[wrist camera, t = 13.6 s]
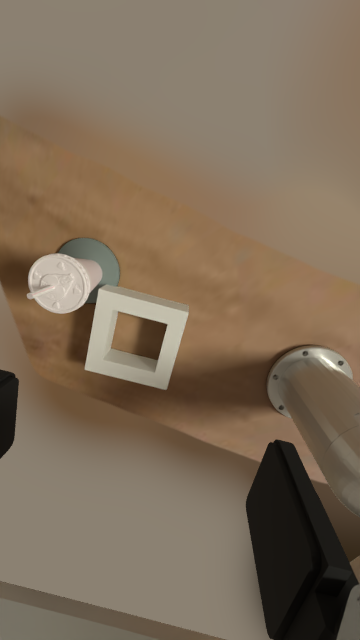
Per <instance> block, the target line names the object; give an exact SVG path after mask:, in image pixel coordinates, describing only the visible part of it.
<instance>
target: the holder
mask: <svg viewBox="0 0 360 640" xmlns="http://www.w3.org/2000/svg"><path fill="white" fill-rule="evenodd" d="M118 311H120V312H124V313H128V314H131V315H135V316H139V317H143V318H147V319H151V320H154V321H158V322H162V323H166V324H168V325H167V329H166V332H165V336H164V340H163V344H162V347H161V351H160V355H159V359H158V360H154V359H151V358H147V357H143V356H139V355H135V354H131V353H127V352H123V351H119V350H115V349H111V345H112V340H113V335H114V330H115V325H116V320H117V315H118ZM188 313H189V305H186V304H182V303H179V302H175V301H171V300H167V299H164V298H160V297H156V296H152V295H149V294H145V293H141V292H137V291H134V290H130V289H126V288H122V287H119V286H117V287H115V286H111V285H107V284H106V285H104V286H103V287H101V288H99V291H98V296H97V302H96V308H95V313H94V319H93V325H92V330H91V336H90V342H89V347H88V353H87V359H86V364H85V370H88V371H92V372H96V373H100V374H104V375H108V376H112V377H116V378H120V379H124V380H128V381H132V382H136V383H140V384H144V385H148V386H152V387H156V388H160V389H164V390H167V387H168V383H169V380H170V376H171V373H172V369H173V366H174V362H175V359H176V355H177V352H178V348H179V345H180V341H181V338H182V334H183V331H184V327H185V324H186V320H187V317H188Z"/></svg>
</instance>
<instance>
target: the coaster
mask: <svg viewBox="0 0 360 640" xmlns="http://www.w3.org/2000/svg"><path fill="white" fill-rule="evenodd" d="M58 253H59V254H65V255H68V256H70V257H72V258H79V259H88V260H93V261H95V262H96V263H98V264H99V266H100V267H101V269H102V279H101V281H100V282H99V283H98V284H97V286H96V287H95V288H94V289H93V290H92V291H91V292H90V293H89V296H88V299H87V300H86V302H85V303H96V302H97V296H98V291H99V288H101V287H103V286H104V285H106V284H107V285H111V286H115V287H117V285H118V283H119V278H120V269H119V264H118V261H117V259H116V257H115V255H114V254H113V252H112V251H111V250H110V249H109V248H108V247H107V246H106V245H105V244H103V243H101V242H99V241H97V240H94V239H90V238H78V239H74V240H71V241H69V242H68V243H66V244H65V245H64V246H63V247H62V248H61V249H60V251H59V252H58Z"/></svg>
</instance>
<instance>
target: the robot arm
mask: <svg viewBox="0 0 360 640" xmlns="http://www.w3.org/2000/svg"><path fill="white" fill-rule="evenodd" d="M18 385H19V380H18V379H17V378H15V374H14V373H11V372H8V371H3V370H0V458H1V457H2V456H3V455H4V454H5V453H6V452H7V451H8V450H9V449H10V447H11V446H12V444H13V441H14V436H15V422H16V410H17V397H18ZM267 393H268V396H269V398H270V401H271V402H272V404H273V406H274V407H275V408H276V409H277V411H279V412H280V413H281V414H283V415H284V416H287V417H289V418H291V419H293V421H294V423H295V425H296V426H297V428H298V430H299V432H300V434H301V435H302V437H303V439H304V441H305V443H306V444H307V446H308V448H309V450H310V452H311V453H312V455H313V457H314V459H315V461H316V462H317V464H318V466H319V468H320V469H321V471H322V473H323V475H324V477H325V479H326V480H327V482H328V484H329V486H330V488H331V489H332V491H333V492H334V494H335V495H336V497H337V498H338V499H339V500H340V501H341V503H342V504H343V505H344V506H346V507H347V508H348V509H349V510H350V511H351V512H353V513H354V514H356V515H357V516H359V517H360V387H359V386H358V385H357V384H356V383H355V382H354V381H353V375H352V371H351V368H350V366H349V364H348V363H347V361H346V360H345V359H344V358H343V357H342V356H341V355H340V354H338V353H337V352H336V351H334V350H332V349H330V348H327V347H323V346H317V345H309V346H302V347H299V348H295V349H293V350H291V351H289V352H287V353H286V354H284V355H283V356H281V357H280V358H279V359H278V360H277V361H276V362H275V364H274V365H273V367H272V368H271V370H270V372H269V374H268V378H267ZM246 512H247V517H248V523H249V529H250V535H251V541H252V546H253V553H254V558H255V564H256V570H257V576H258V582H259V587H260V594H261V599H262V605H263V611H264V617H265V623H266V628H267V633H268V635H269V637H270V639H274V640H360V556H359V557H357V558H356V559H354V560H353V561H352V562H350V563H349V561H348V558H347V556H346V554H345V552H344V550H343V548H342V546H341V543H340V542H339V539H338V537H337V535H336V533H335V531H334V528H333V526H332V524H331V522H330V520H329V518H328V516H327V513H326V511H325V509H324V507H323V505H322V503H321V501H320V498H319V497H318V495H317V493H316V491H315V490H314V487H313V485H312V483H311V481H310V479H309V476H308V474H307V472H306V470H305V468H304V466H303V463H302V461H301V459H300V457H299V455H298V453H297V450H296V448H295V446H294V445H293V444H292V443H289V442H285V441H281V440H275V441H274V443H272V442H270V443H269V444H268V446H267V449H266V451H265V454H264V456H263V459H262V461H261V464H260V466H259V469H258V472H257V474H256V476H255V479H254V482H253V484H252V487H251V489H250V491H249V494H248V496H247V501H246ZM0 640H225V639H221V638H218V637H214V636H210V635H206V634H202V633H199V632H195V631H191V630H187V629H183V628H180V627H176V626H172V625H168V624H164V623H161V622H157V621H153V620H149V619H146V618H142V617H138V616H134V615H131V614H127V613H123V612H118V611H115V610H111V609H107V608H103V607H99V606H95V605H92V604H88V603H84V602H80V601H76V600H72V599H68V598H65V597H60V596H57V595H53V594H48V593H45V592H41V591H37V590H33V589H29V588H25V587H21V586H17V585H14V584H9V583H6V582H2V581H0Z"/></svg>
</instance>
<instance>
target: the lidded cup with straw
mask: <svg viewBox="0 0 360 640" xmlns="http://www.w3.org/2000/svg"><path fill="white" fill-rule="evenodd" d="M101 279H102V269H101V267H100V266H99V264H98V263H96V262H95V261H93V260H88V259H79V258H72V257H70V256H68V255H65V254H59V253H57V254H50V255H47V256H43V257H41V258H39V259H38V260H37V261H36V262H35V263H34V264H33V265H32V267H31V269H30V271H29V275H28V285H29V289H30V292H31V293H28V294H27V297H28V299H33V298H34V299H35V300H36V302H37V303H38V304H39V305H41V306H42V307H43V308H45V309H46V310H48V311H51V312H54V313H69V312H72V311H74V310H76V309H78V308H79V307H81V306H82V305H83V304H84V303H85V302H86V300H87V299H88V296H89V293H90V292H91V291H92V290H93V289H94V288H95V287H96V286H97V284H98V283H99V282H100V281H101Z"/></svg>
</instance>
